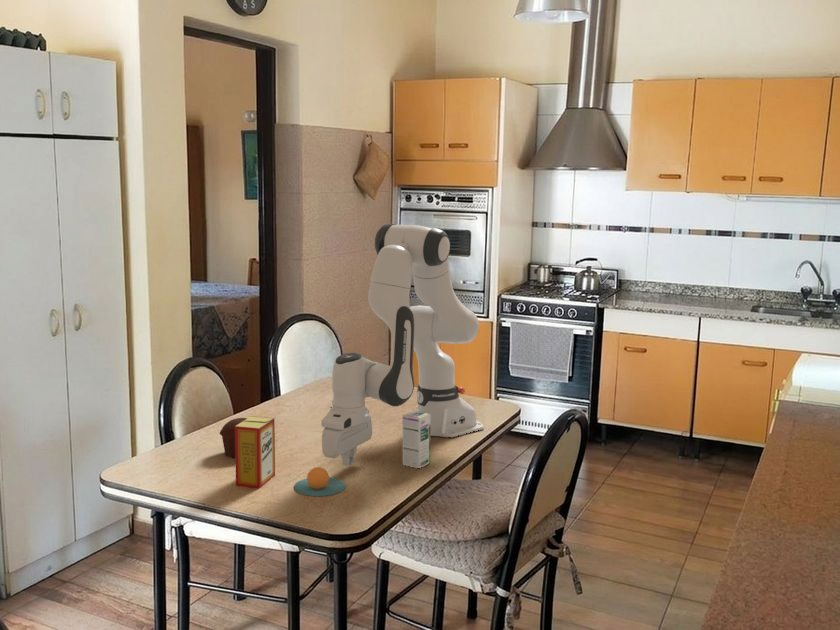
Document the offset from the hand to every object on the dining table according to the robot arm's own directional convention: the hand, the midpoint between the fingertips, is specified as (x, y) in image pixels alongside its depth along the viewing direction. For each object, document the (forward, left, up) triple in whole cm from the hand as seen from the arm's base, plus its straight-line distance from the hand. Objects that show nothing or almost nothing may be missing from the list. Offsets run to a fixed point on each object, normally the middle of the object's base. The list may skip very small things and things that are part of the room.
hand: (348, 464), depth 221 cm
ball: (+12, +9, +1) cm, 15 cm away
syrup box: (-19, +4, -2) cm, 19 cm away
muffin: (+21, -26, -2) cm, 34 cm away
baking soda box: (+24, -4, -2) cm, 25 cm away
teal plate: (+11, +8, -2) cm, 14 cm away
